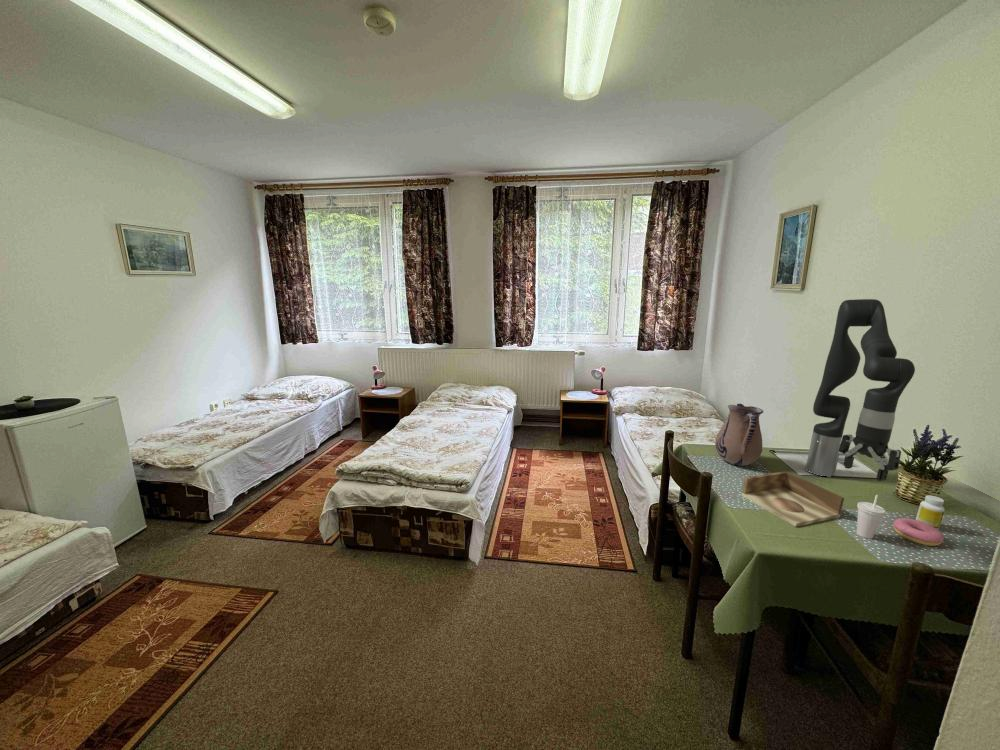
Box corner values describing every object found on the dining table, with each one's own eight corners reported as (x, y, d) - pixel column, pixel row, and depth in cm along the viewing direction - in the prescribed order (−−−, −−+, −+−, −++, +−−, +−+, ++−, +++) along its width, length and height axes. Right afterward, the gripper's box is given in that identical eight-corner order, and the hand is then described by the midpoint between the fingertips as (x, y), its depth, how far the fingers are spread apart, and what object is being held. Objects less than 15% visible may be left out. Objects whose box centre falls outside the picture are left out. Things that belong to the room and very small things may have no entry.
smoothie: (872, 543, 118) (883, 501, 115) (846, 532, 123) (856, 491, 120) (882, 537, 121) (893, 496, 118) (856, 526, 126) (866, 487, 123)
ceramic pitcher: (746, 454, 181) (755, 402, 175) (772, 475, 160) (783, 417, 155) (706, 452, 182) (714, 400, 177) (727, 473, 162) (736, 415, 156)
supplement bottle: (942, 532, 124) (950, 504, 122) (918, 526, 127) (926, 499, 125) (935, 524, 129) (943, 497, 126) (912, 518, 131) (919, 492, 129)
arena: (782, 488, 150) (785, 471, 148) (839, 517, 131) (844, 497, 130) (741, 495, 144) (744, 477, 143) (795, 526, 126) (799, 506, 124)
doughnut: (944, 553, 114) (948, 541, 113) (891, 537, 122) (894, 525, 121) (939, 537, 122) (943, 525, 121) (890, 522, 129) (893, 511, 128)
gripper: (914, 431, 111) (900, 483, 114) (857, 415, 124) (846, 463, 128) (895, 433, 109) (882, 486, 112) (840, 417, 122) (829, 465, 126)
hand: (863, 474), depth 120 cm, fingers open, 8 cm apart
